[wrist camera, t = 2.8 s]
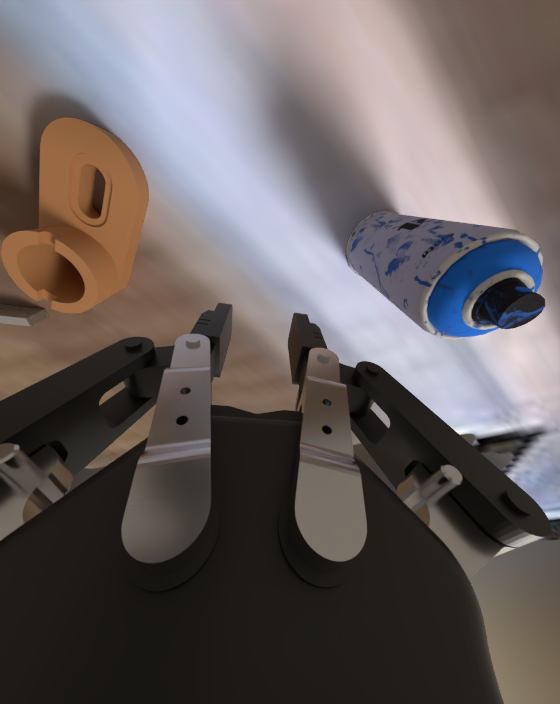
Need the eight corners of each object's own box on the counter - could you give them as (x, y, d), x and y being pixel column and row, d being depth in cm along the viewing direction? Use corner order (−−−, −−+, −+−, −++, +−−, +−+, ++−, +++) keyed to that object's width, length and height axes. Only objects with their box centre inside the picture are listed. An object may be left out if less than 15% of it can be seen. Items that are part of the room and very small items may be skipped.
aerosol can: (416, 208, 26) (662, 228, 10) (398, 275, 31) (545, 365, 14) (350, 212, 26) (487, 236, 10) (342, 278, 30) (425, 372, 14)
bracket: (124, 302, 32) (92, 325, 26) (56, 271, 29) (3, 288, 23) (158, 165, 23) (122, 154, 17) (66, 102, 20) (-13, 64, 15)
